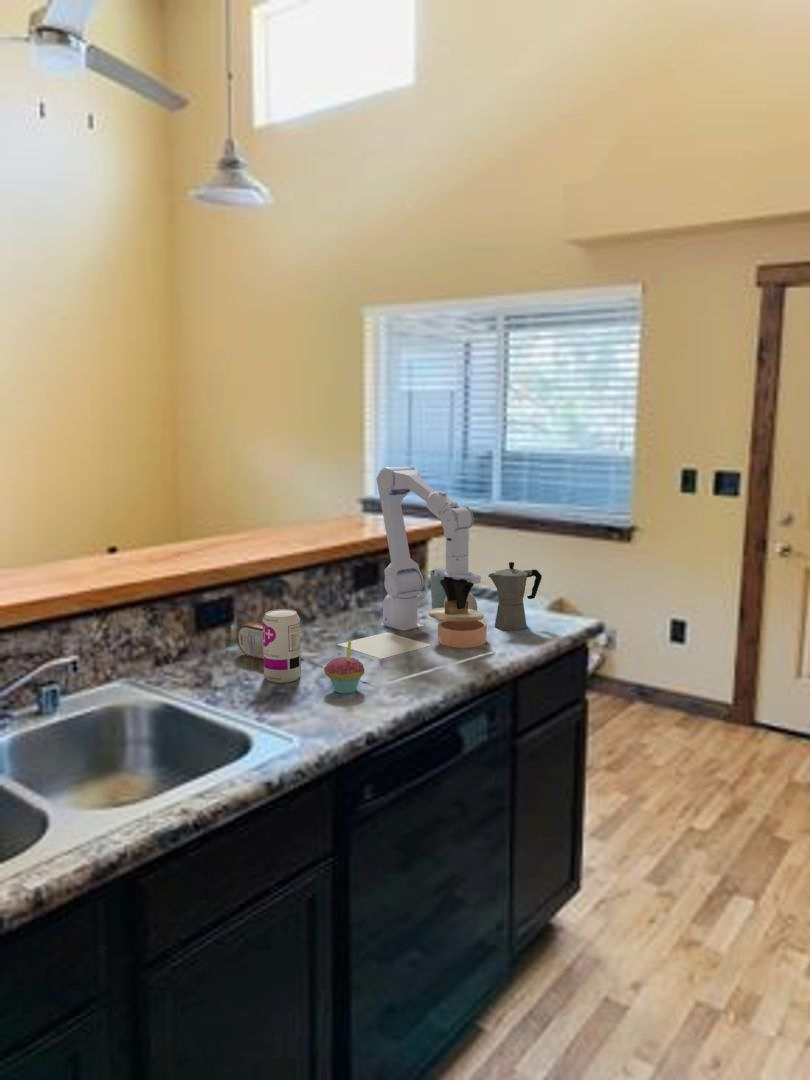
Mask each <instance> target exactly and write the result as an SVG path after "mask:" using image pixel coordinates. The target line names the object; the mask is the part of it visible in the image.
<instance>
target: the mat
mask: <svg viewBox="0 0 810 1080" xmlns="http://www.w3.org/2000/svg"><path fill="white" fill-rule="evenodd" d="M350 641H351V649H350V650H351V651H356V652H358V653H361V654H365V655H367V656H371V657H374V658H377V659H380V660H382V659H385V658H387V659H388V658H390V657H394V656H397V655H400V654H406V653H408V652H412V651H416V650H420V649H425V648H427V647H432V644H429V643H425V642H423V641H419V640H414V639H412V638H407V637H405V636H401V635H399V634H394V633H391V632H387V631H385V632H384V633H383V632H381V633H378V634H374V635H370V636H366V637H361V638H357V639H354V640H350ZM337 646H340V647H343V648H346V649H347V648H348V641H346V642H342V643H337Z"/></svg>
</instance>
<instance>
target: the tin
mask: <svg viewBox="0 0 810 1080" xmlns="http://www.w3.org/2000/svg"><path fill="white" fill-rule="evenodd" d="M236 633H237V644H238V648H239V650H240V651H241V652H242V654H244V655H245V656H247V655H248V656H247V657H249V656H251V657H250V658H253V657H255V658H254V659H257V658H258V659H257V660H261V661H264V651H263V623H260V622H254V621H250V622H247V623H245V624H243V625H241V626H240V627H239V628H238V629H237V632H236Z"/></svg>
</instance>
